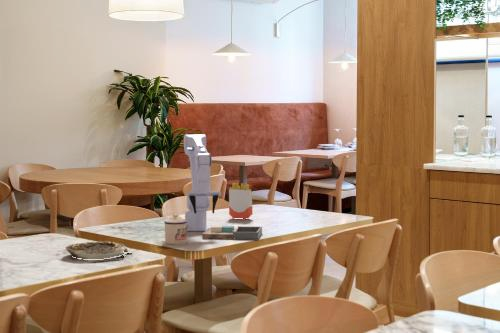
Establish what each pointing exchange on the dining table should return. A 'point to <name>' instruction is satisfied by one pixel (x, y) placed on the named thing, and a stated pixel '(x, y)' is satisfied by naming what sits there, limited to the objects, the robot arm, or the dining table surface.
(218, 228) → the cream tile
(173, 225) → the teacup with lid
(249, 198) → the french fries container
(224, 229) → the teal tile
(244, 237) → the tray
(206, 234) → the walnut board
